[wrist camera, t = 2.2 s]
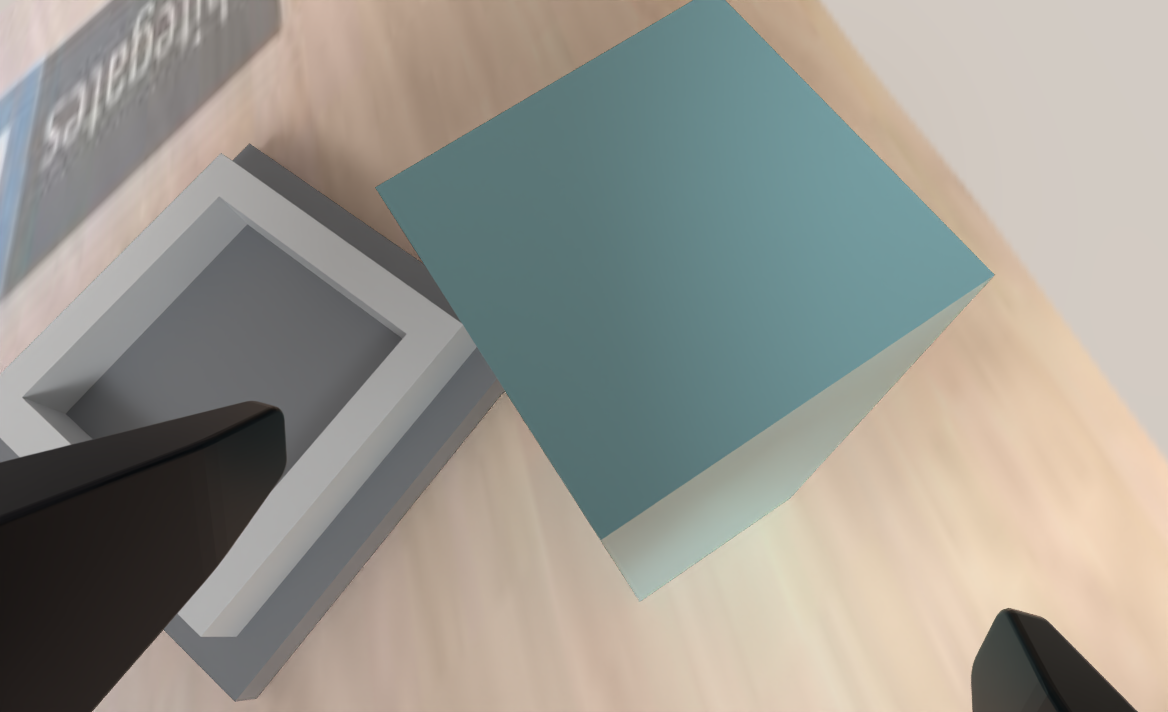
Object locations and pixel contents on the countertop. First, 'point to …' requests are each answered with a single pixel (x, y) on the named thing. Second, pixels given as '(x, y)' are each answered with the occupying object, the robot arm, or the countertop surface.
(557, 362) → the block
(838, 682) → the countertop surface
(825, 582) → the countertop surface
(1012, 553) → the countertop surface
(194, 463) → the robot arm
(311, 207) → the seat plate
